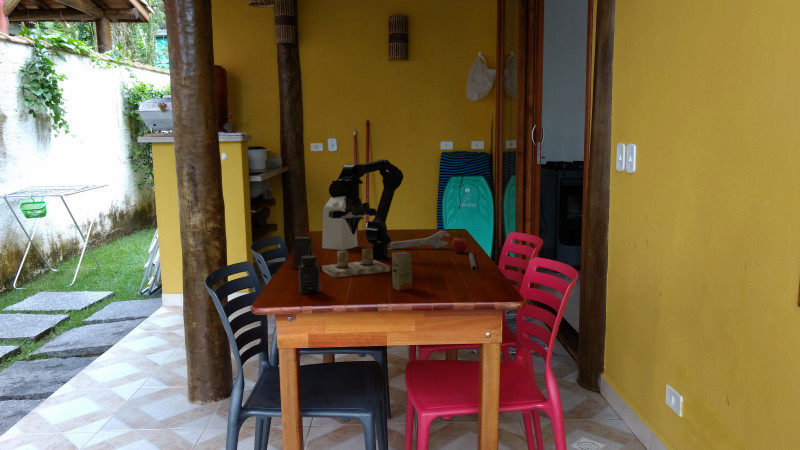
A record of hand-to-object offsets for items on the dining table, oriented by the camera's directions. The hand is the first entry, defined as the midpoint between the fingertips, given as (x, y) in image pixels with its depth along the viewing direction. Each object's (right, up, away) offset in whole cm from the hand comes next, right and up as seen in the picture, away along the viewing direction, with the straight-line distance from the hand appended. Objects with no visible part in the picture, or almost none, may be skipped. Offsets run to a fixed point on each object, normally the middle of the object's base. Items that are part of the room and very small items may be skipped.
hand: (353, 234), depth 251 cm
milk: (-9, -7, +41) cm, 43 cm away
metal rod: (+48, -12, 0) cm, 50 cm away
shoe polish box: (+20, -18, -42) cm, 50 cm away
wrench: (+27, -8, +34) cm, 44 cm away
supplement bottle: (-11, -19, -46) cm, 50 cm away
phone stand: (-20, -13, -3) cm, 24 cm away
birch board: (+2, -14, -13) cm, 19 cm away
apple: (+45, -9, +22) cm, 51 cm away
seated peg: (+6, -14, -11) cm, 18 cm away
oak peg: (-3, -14, -15) cm, 21 cm away
